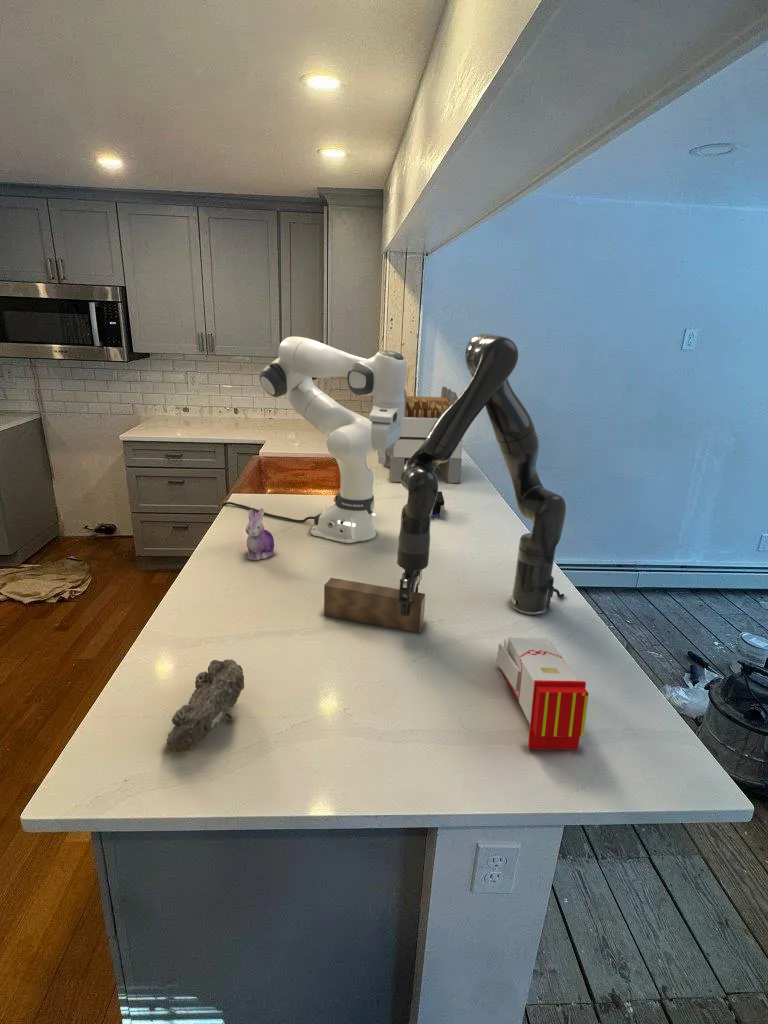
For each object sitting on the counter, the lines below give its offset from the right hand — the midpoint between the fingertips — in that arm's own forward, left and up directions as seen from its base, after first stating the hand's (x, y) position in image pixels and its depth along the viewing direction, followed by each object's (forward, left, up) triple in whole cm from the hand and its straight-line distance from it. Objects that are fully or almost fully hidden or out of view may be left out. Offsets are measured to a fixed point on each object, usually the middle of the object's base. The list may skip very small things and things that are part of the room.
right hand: (409, 606), depth 140 cm
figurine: (+29, -52, -6) cm, 60 cm away
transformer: (-59, -129, -6) cm, 142 cm away
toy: (-14, +34, -6) cm, 37 cm away
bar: (+7, -6, -6) cm, 11 cm away
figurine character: (-42, -74, -6) cm, 85 cm away
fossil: (+49, +20, -6) cm, 53 cm away
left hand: (-6, -35, +28) cm, 45 cm away
